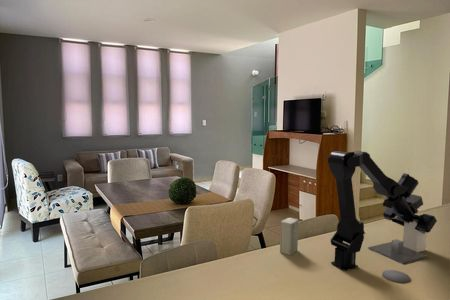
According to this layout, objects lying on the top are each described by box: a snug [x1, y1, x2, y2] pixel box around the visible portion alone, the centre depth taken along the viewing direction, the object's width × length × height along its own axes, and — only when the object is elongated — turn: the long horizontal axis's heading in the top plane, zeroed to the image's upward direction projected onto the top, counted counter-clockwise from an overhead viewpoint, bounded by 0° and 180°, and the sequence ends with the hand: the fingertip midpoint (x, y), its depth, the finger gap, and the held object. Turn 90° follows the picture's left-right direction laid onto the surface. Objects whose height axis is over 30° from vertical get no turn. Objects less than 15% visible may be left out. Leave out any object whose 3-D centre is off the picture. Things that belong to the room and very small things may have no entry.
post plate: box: [367, 239, 428, 265], centre depth 130 cm, size 13×15×5 cm
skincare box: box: [279, 217, 300, 256], centre depth 130 cm, size 6×4×12 cm
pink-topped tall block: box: [402, 221, 428, 253], centre depth 134 cm, size 6×6×12 cm
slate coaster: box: [381, 269, 411, 284], centre depth 111 cm, size 8×8×1 cm
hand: (417, 230), depth 134 cm, fingers closed on pink-topped tall block, 6 cm apart
